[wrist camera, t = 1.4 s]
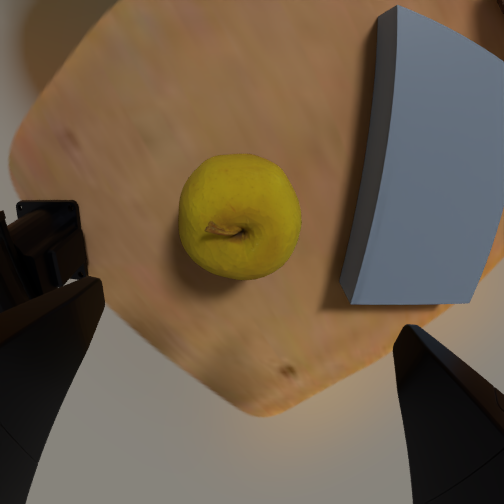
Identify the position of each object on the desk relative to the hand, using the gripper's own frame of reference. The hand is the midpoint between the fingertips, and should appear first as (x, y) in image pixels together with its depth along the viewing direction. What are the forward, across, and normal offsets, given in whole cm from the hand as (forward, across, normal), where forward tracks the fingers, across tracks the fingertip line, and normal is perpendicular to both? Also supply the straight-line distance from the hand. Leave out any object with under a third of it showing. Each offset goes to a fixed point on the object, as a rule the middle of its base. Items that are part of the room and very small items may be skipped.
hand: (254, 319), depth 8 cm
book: (+14, -12, -4) cm, 19 cm away
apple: (+13, +2, 0) cm, 13 cm away
